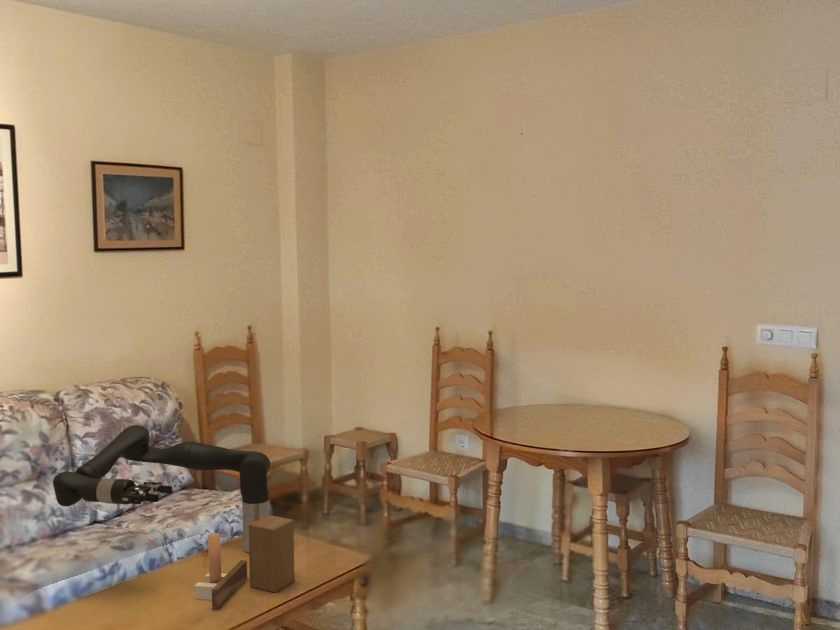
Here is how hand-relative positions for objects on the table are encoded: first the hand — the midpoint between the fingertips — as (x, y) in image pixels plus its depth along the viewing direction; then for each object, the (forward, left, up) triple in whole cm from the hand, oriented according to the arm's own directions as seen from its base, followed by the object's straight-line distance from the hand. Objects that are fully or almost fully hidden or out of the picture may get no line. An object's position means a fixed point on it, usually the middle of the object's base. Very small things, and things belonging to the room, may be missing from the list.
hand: (165, 493), depth 249 cm
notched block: (-10, +11, -30) cm, 33 cm away
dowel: (-10, +11, -30) cm, 34 cm away
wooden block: (-27, +17, -30) cm, 44 cm away
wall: (-14, +15, -30) cm, 36 cm away
